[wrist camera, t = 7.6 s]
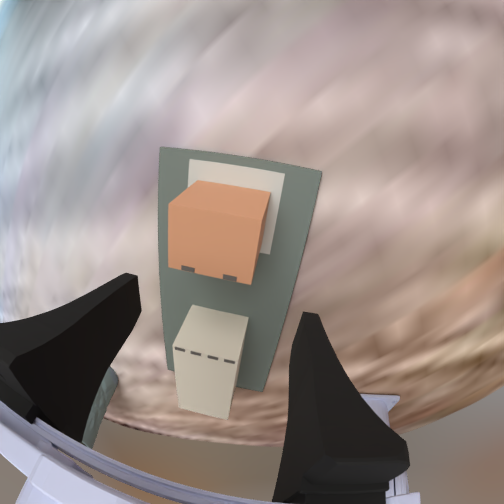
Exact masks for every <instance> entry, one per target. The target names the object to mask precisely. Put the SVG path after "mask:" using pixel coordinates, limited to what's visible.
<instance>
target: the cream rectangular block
mask: <svg viewBox="0 0 504 504" xmlns="http://www.w3.org/2000/svg"><path fill="white" fill-rule="evenodd" d="M248 318H249V317H246V316H241V315H236V314H232V313H227V312H222V311H218V310H213V309H209V308H205V307H200V306H196V305H192V306H191V308H190V310H189V312H188V314H187V316H186V318H185V320H184V322H183V324H182V326H181V328H180V331H179V333H178V335H177V337H176V339H175V341H174V343H173V345H172V347H173V358H174V369H175V378H176V387H177V396H178V404H179V408H182V409H186V410H189V411H193V412H197V413H201V414H205V415H209V416H213V417H217V418H221V419H226V420H228V417H229V412H230V408H231V404H232V400H233V396H234V392H235V388H236V383H237V378H238V373H239V368H240V362H241V357H242V351H243V346H244V340H245V335H246V329H247V324H248Z"/></svg>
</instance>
